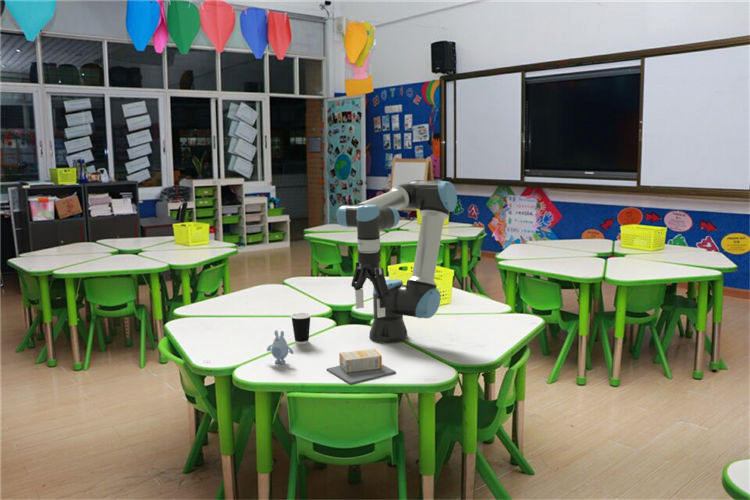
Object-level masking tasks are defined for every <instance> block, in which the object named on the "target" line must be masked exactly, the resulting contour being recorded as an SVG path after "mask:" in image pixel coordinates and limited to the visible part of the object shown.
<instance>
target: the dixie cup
mask: <svg viewBox="0 0 750 500" xmlns="http://www.w3.org/2000/svg"><path fill="white" fill-rule="evenodd" d="M311 317H312V314H310V313H309V312H296V313H292V314H291V315H290V318H291V321H292V322H291V323H292V329H293V335H294V342H295V344H297V345H306V344H308V343H309V340H310V339H309V338H310V328H311Z"/></svg>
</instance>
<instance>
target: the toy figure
mask: <svg viewBox="0 0 750 500" xmlns="http://www.w3.org/2000/svg"><path fill="white" fill-rule="evenodd" d="M273 334H274V335H275V338H274V339H273V342H272V344H270V345H269V346H268V347H266V351H267V352H271V354H272V357H273V358H275V360H274V363H275V364H281V365H284V364H286V360H285V358H287V356H288V355H289V354H291V355H293V354H294V350H293V348H292V347H290V346H289V345H288V342H287V340H286V339H285V337H284V336H285V333H284V331H283V330H281V331H280V335H279V330H278V329H277V330H274V333H273Z"/></svg>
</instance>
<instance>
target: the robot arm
mask: <svg viewBox="0 0 750 500" xmlns="http://www.w3.org/2000/svg"><path fill="white" fill-rule="evenodd" d="M456 190H457V189H456V188H455V186H454V184H453V183H452V182H450V181H445V180H441V179H440V180H420V179H418V180H417V179H415V180H411V181H407V182H404V183H401V184H399V185H396V186H394V187H391V189H389V190H388V191H387V192H385V193H382V194H379V195H377V196H374V197H373V198H369V199H367V200H365V201H361V202H360V203H359V202H358V203H356V204H354V205H341V206H340V207H339V208H338V209H337V212H336V221H337V224H338V225H340V226H341V227H345V228H346V227H347V228H356V230H357V233H356V234H357V235H356V236H357V250H358V252H357V262H355V269H354V273H353V277H352V281H351V283H350V286H351V288H353V289H354V292H355V293H354V294H355V308H356V309H362V308H363V309H364V307H365V306H364V305H365V304H364V301H365V300H364V285H365V283H366V280H369V281H370V282H371V283H372V286H373V288H372V289H373V291H372V292H373V293H372V298H373V301H372V302H373V303H372V305H373V319H372V323H371V326H370V330H369V340H371V341H373V342H375V343H380V344H396V343H401V342H404V341H405V340H407V339H408V330H407V327H406V324H405V321H404V316H406V317H411V318H412V317H413V318H418V319H430V318H432V317H433V316H435V314H436V313H437V312H438V311H439V310H438V309H439V307H440V305H441V292H440V290H439V289H437V288H438V287H437V286H438V284H436V282H435V275H436V270H437V263H438V259H439V257H438V256H439V251H440V246H441V240H442V234H443V230H444V229H443V228H444V222H445V220H446V219H448V218H449V216H450V212H453V211H455V210H456V208H457V203H458V195H457V191H456ZM406 209H407V210H411V209H412V210H419V211H418V212H419V214H420V216H421V223H420V227H419V233H418V239H417V245H416V250H415V255H414V256H415V257H414V263H413V267H412V273H411V277H409V278H408V279H407V281H406V285H405V284H404V282H403V280H402V279H387V280H386V278H385V272H384V267H380V268H379V267H378V264H379V263H380V262H381V252H380V250H381V239H380V238H381V237H380V236H381V233H380V232H381V231H385V230H390V229H392V228H395V227H396V226H397V225H398V224H399V222H400V218H401V217H400V213H399V211H403V210H406Z"/></svg>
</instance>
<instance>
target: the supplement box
mask: <svg viewBox="0 0 750 500" xmlns="http://www.w3.org/2000/svg"><path fill="white" fill-rule="evenodd" d="M338 354H339V355H338V356H339V357H338V358H339V361H338V362H339V366H341V367H342V369H343V370H344V371H345V372H346V373H348V372H356V371H364V370H372V369H380V368H382V365H383V359H382V358H383V357H382V355H381V354H380V353H379V352H378V351H377V350H376V349H375V348H371V349H362V350H352V351H344V352H339V353H338Z"/></svg>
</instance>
